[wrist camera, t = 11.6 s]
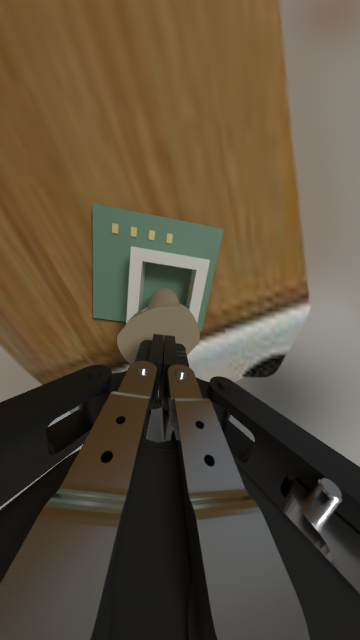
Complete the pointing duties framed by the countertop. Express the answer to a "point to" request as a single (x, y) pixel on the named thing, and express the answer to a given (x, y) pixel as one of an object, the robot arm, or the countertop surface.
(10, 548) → the robot arm
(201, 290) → the socket
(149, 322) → the handle
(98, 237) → the board
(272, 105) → the countertop surface
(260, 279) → the countertop surface
